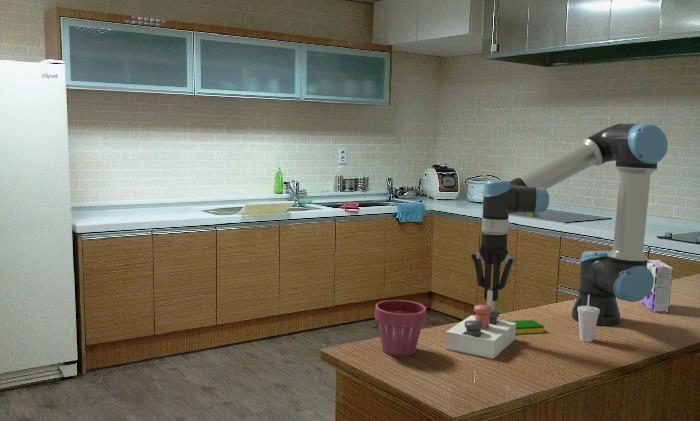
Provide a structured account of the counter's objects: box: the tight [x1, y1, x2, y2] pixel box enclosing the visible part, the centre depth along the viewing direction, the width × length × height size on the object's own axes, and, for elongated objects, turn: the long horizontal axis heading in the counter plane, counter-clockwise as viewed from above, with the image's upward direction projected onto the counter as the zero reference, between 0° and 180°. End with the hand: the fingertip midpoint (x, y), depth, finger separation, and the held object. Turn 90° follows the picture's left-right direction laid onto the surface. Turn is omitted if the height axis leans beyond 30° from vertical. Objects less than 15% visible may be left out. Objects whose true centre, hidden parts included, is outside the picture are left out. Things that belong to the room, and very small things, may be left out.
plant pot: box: [374, 299, 427, 357], centre depth 179 cm, size 14×14×13 cm
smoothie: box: [577, 294, 600, 343], centre depth 192 cm, size 6×6×14 cm
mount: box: [444, 314, 516, 360], centre depth 187 cm, size 14×20×5 cm
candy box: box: [640, 259, 674, 313], centre depth 231 cm, size 14×6×16 cm, turn 172°
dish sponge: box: [506, 319, 545, 335], centre depth 202 cm, size 7×14×2 cm, turn 103°
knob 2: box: [489, 309, 500, 325], centre depth 192 cm, size 5×5×6 cm
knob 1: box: [465, 320, 483, 337], centre depth 181 cm, size 5×5×6 cm
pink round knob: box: [473, 304, 492, 329], centre depth 186 cm, size 5×5×6 cm
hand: (490, 310), depth 192 cm, fingers closed
